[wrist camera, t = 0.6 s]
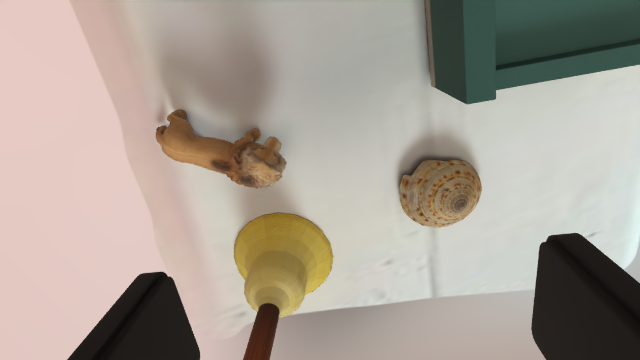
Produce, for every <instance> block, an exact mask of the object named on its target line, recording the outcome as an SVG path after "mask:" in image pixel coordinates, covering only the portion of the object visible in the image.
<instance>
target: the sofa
mask: <svg viewBox="0 0 640 360" xmlns="http://www.w3.org/2000/svg"><path fill="white" fill-rule="evenodd" d="M425 5H426V19H427V32H428V46H429V60H430V74H431V86H433V87H435V88H437V89H439V90H441V91H442V92H444V93H446V94H448V95H450V96H452V97H454V98H456V99H458V100H459V101H461V102H463V103H465V104H472V103H478V102H483V101H489V100H495V99H496V90H499V89H505V88H511V87H516V86H522V85H527V84H533V83H539V82H544V81H550V80H555V79H561V78H567V77H572V76H578V75H583V74H589V73H595V72H600V71H606V70H611V69H617V68H623V67H628V66H634V65H640V0H425Z"/></svg>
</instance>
